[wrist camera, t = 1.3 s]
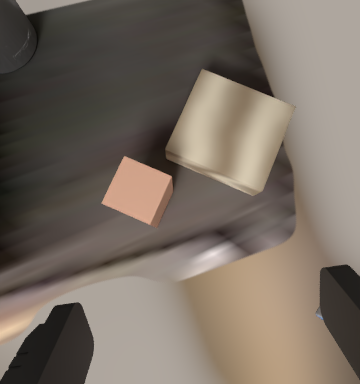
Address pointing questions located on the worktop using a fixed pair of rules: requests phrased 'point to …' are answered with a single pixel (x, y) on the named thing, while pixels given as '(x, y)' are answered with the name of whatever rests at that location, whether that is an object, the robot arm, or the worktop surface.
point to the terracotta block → (139, 191)
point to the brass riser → (229, 132)
